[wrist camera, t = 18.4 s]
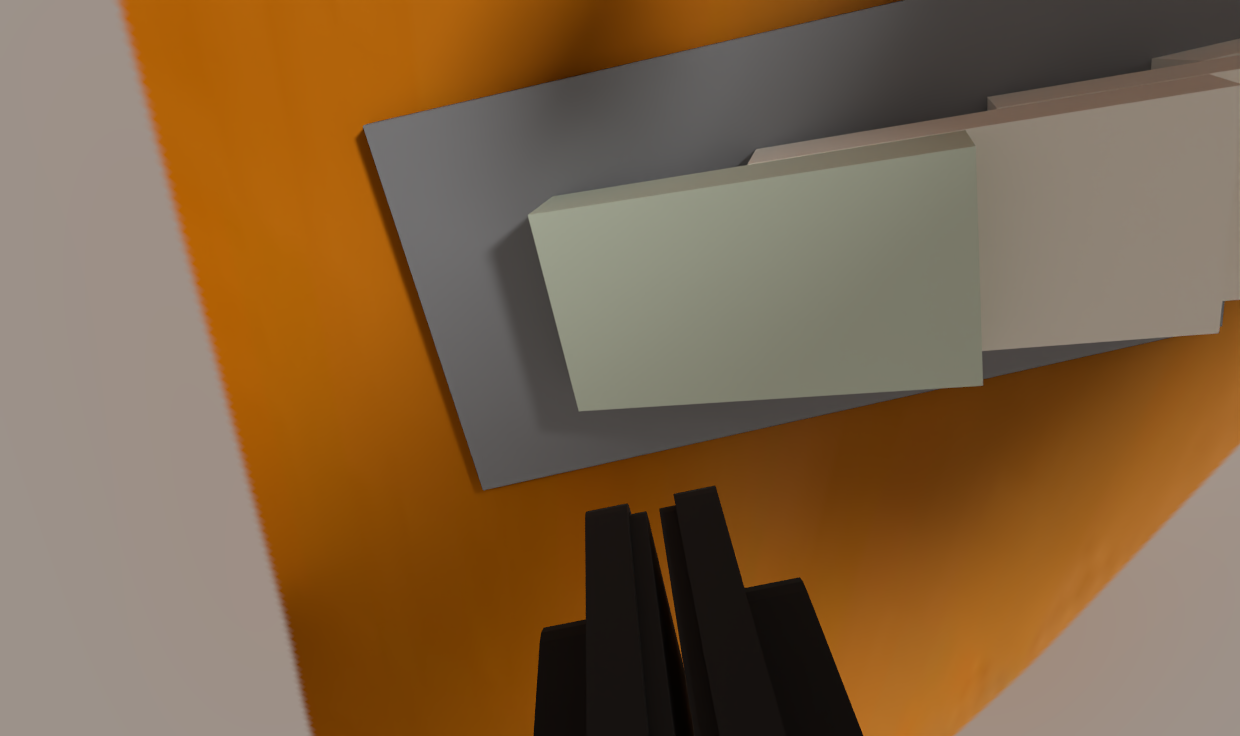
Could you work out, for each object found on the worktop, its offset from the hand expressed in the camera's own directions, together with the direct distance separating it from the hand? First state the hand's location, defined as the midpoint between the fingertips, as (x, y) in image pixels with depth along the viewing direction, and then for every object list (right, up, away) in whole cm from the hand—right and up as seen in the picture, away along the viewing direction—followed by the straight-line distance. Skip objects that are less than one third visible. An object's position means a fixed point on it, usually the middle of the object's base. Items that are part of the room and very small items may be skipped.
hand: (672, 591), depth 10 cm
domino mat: (+6, +7, +14) cm, 17 cm away
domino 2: (+4, +6, +13) cm, 15 cm away
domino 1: (-2, +5, +13) cm, 14 cm away
